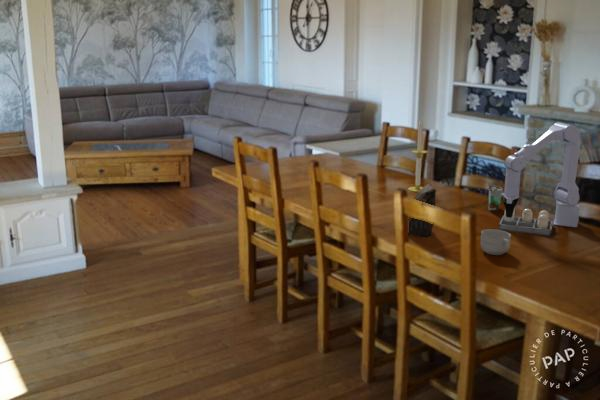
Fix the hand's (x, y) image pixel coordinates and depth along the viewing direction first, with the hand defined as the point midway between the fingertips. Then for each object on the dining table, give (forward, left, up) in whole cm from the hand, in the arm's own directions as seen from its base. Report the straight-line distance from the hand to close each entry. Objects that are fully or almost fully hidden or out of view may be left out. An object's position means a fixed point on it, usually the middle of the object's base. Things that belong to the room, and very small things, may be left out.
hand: (509, 215), depth 267 cm
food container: (+9, -28, -6) cm, 30 cm away
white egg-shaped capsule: (0, 0, -2) cm, 2 cm away
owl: (+34, +19, -6) cm, 39 cm away
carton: (-7, -3, -6) cm, 9 cm away
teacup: (+1, +33, -6) cm, 34 cm away
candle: (+51, -49, -6) cm, 71 cm away
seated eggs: (-10, -3, -5) cm, 12 cm away
